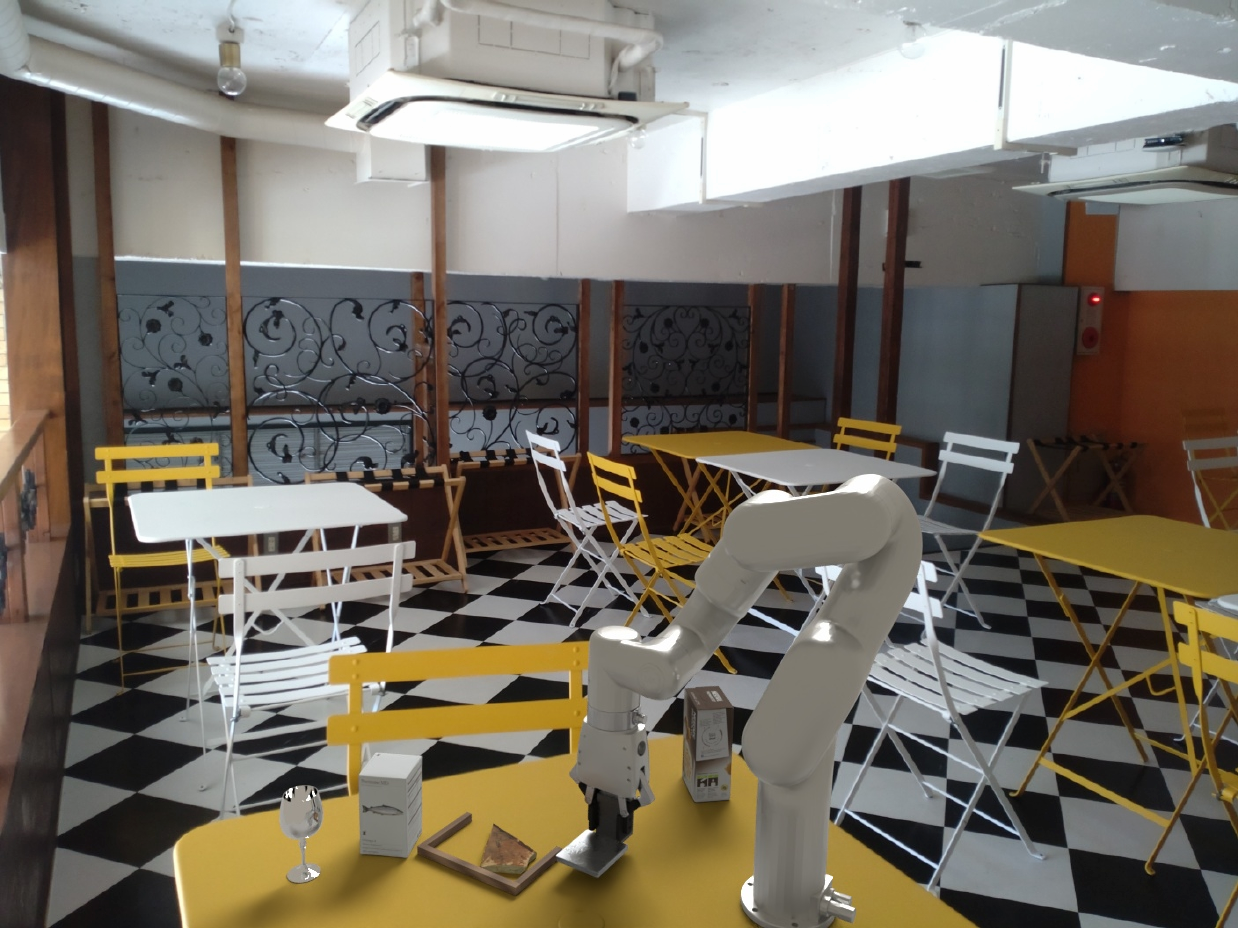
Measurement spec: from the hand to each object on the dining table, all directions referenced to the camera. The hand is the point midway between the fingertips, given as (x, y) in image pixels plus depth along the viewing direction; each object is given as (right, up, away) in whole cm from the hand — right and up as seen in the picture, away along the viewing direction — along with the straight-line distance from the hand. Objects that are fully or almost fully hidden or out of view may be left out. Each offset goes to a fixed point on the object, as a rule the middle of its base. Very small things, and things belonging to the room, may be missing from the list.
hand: (609, 830), depth 134 cm
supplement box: (-32, -3, +3) cm, 33 cm away
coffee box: (+16, -1, +20) cm, 26 cm away
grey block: (-1, -2, -2) cm, 3 cm away
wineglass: (-43, -4, -5) cm, 43 cm away
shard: (-16, -4, 0) cm, 17 cm away
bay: (-18, -4, 0) cm, 18 cm away
